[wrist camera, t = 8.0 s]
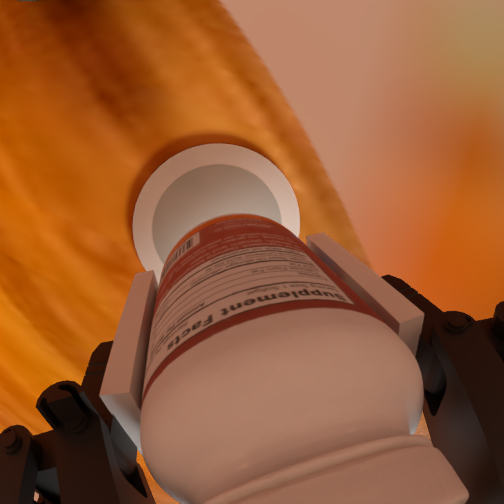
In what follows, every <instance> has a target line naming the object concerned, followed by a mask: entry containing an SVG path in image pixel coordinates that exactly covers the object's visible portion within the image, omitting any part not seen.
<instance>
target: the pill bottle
mask: <svg viewBox="0 0 504 504" xmlns="http://www.w3.org/2000/svg"><path fill="white" fill-rule="evenodd" d="M423 401H424V389H423V380H422V375H421V371H420V368H419V365H418V363H417V361H416V359H415V357H414V355H413V354H412V352H411V351H410V349H409V348H408V347H407V345H406V344H405V343H404V342H403V341H402V340H401V338H400V337H399V336H398V335H397V334H396V333H395V332H394V331H393V330H392V328H391V327H390V326H389V325H388V324H387V323H386V322H385V321H384V320H383V319H382V318H381V317H380V316H379V315H378V314H376V313H375V312H374V311H373V310H372V309H371V308H370V307H369V305H368V304H366V303H365V302H364V301H363V300H362V299H361V298H360V297H359V296H358V295H357V294H356V293H355V292H354V291H353V290H352V289H351V288H350V287H349V286H348V285H347V284H346V283H345V282H344V281H343V280H342V279H341V278H340V277H339V276H338V275H337V274H335V272H334V271H332V269H331V268H330V267H328V266H327V265H326V264H325V263H324V262H323V261H322V260H321V259H320V258H319V257H318V256H317V255H316V254H315V253H314V252H312V250H311V249H310V248H308V247H307V246H306V245H305V244H304V243H303V242H302V241H301V240H300V239H299V238H298V237H297V236H296V235H295V234H293V233H292V232H291V231H290V230H288V229H287V228H286V227H284V226H283V225H281V224H280V223H278V222H276V221H274V220H272V219H269V218H267V217H263V216H260V215H255V214H248V213H233V214H226V215H221V216H217V217H214V218H212V219H209V220H207V221H204V222H202V223H201V224H199V225H197V226H196V227H194V228H193V229H191V230H190V231H188V232H187V233H186V234H185V235H184V236H183V237H182V238H181V239H180V240H179V241H178V242H177V243H176V245H175V246H174V247H173V249H172V250H171V252H170V253H169V255H168V257H167V259H166V261H165V264H164V267H163V270H162V273H161V277H160V282H159V287H158V292H157V297H156V303H155V308H154V314H153V320H152V327H151V334H150V340H149V348H148V355H147V363H146V371H145V379H144V387H143V396H142V404H141V423H140V443H141V449H142V454H143V457H144V460H145V463H146V466H147V468H148V469H149V471H150V473H151V475H152V476H153V478H154V479H155V481H156V482H157V483H158V484H159V486H160V487H161V488H162V489H163V490H164V491H165V492H166V493H168V494H169V495H170V496H171V497H173V498H174V499H175V500H177V501H178V502H180V503H182V504H465V503H466V501H467V500H468V498H469V493H468V490H467V489H466V487H465V486H464V484H463V483H462V481H461V480H460V478H459V477H458V475H457V474H456V472H455V471H454V469H453V467H452V466H451V465H450V463H449V462H448V461H447V459H446V458H445V456H444V455H443V454H442V452H441V451H440V450H439V449H437V448H434V447H433V444H432V442H431V440H429V439H428V438H427V437H425V436H421V435H414V433H415V431H416V429H417V426H418V424H419V421H420V418H421V414H422V409H423Z"/></svg>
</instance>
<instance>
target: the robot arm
mask: <svg viewBox="0 0 504 504" xmlns="http://www.w3.org/2000/svg"><path fill="white" fill-rule="evenodd" d="M306 238H307V247H308V248H310V249H311V250H312V252H314V253H315V254H316V255H317V256H318V257H319V258H320V259H321V260H322V261H323V262H324V263H325V264H326V265H327V266H328V267H330V268H331V269H332V271H334V272H335V274H337V275H338V276H339V277H340V278H341V279H342V280H343V281H344V282H345V283H346V284H347V285H348V286H349V287H350V288H351V289H352V290H353V291H354V292H355V293H356V294H357V295H358V296H359V297H360V298H361V299H362V300H363V301H364V302H365V303H366V304H368V305H369V307H370V308H371V309H372V310H373V311H374V312H375V313H376V314H378V315H379V316H380V317H381V318H382V319H383V320H384V321H385V322H386V323H387V324H388V325H389V326H390V327H391V328H392V330H393V331H394V332H395V333H396V334H397V335H398V336H399V337H400V338H401V340H402V341H403V342H404V343H405V344H406V345H407V347H408V348H409V349H410V351H411V352H412V354H413V355H414V357H415V359H416V361H417V363H418V365H419V368H420V371H421V375H422V380H423V389H424V401H423V409H422V410H423V413H424V417H425V420H426V423H427V427H428V430H429V434H430V437H431V441H432V444H433V447H434V448H437V449H439V450H440V451H441V452H442V454H443V455H444V456H445V458H446V459H447V461H448V462H449V463H450V465H451V466H452V467H453V469H454V471H455V472H456V474H457V475H458V477H459V478H460V480H461V481H462V483H463V484H464V486H465V487H466V489H467V490H468V493H469V498H468V500H467V501H466V503H465V504H504V301H502V302H500V303H499V304H497V306H496V308H495V312H494V316H493V318H489V319H484V320H478V321H475V320H474V319H473V318H472V317H471V316H469V315H467V314H465V313H462V312H458V311H447V312H442V311H441V310H440V309H439V308H437V307H436V306H435V305H434V304H432V303H431V302H430V301H429V300H427V299H426V298H425V297H424V296H422V295H421V294H418V292H417V291H416V290H415V289H413V288H411V287H410V286H409V285H408V284H407V283H405V282H404V281H403V280H401V279H399V278H396V277H393V276H391V275H385V276H382V277H380V276H379V275H377V274H376V273H375V272H374V271H372V270H371V269H370V268H369V267H367V266H366V265H365V264H364V263H362V262H361V261H360V260H358V259H357V258H356V257H355V256H353V255H352V254H351V253H350V252H348V251H347V250H346V249H344V248H343V247H342V246H340V245H339V244H338V243H337V242H335V241H334V240H333V239H331V238H330V237H329V236H327V235H326V234H325V233H319V234H314V235H310V236H306ZM158 287H159V286H158V283H157V279H156V276H155V273H154V270H150V271H146V272H141V273H137V274H135V277H134V280H133V283H132V286H131V289H130V291H129V294H128V297H127V300H126V303H125V306H124V310H123V313H122V316H121V319H120V322H119V325H118V329H117V332H116V335H115V339H114V341H109V342H103V343H100V344H99V346H98V347H97V348H96V349H95V350H94V352H93V353H92V355H91V358H90V361H89V364H88V365H89V366H88V367H87V370H86V373H85V374H86V376H84V379H83V382H82V385H81V386H80V385H79V384H77V383H76V382H74V381H68V380H67V381H61V382H57V383H55V384H53V385H51V386H49V387H48V388H47V389H46V390H45V391H43V392H42V394H41V395H40V397H39V398H38V400H37V404H36V408H37V409H38V411H39V412H40V413H41V414H42V416H43V417H44V418H45V419H46V421H47V422H48V423H49V424H50V426H51V427H52V428H53V429H54V430H51V431H48V432H45V433H41V434H38V435H34V436H33V435H32V434H31V433H30V431H29V430H28V429H27V428H25V427H24V426H21V425H14V426H10V427H8V428H7V429H5V430H4V431H3V432H2V433H1V434H0V504H156V503H155V501H154V498H153V496H152V493H151V491H150V488H149V485H148V483H147V480H146V478H145V475H144V472H143V470H142V468H141V467H140V465H139V464H138V463H137V462H136V457H137V449H138V451H139V452H140V453H141V454H142V449H141V443H140V423H141V404H142V396H143V387H144V379H145V371H146V363H147V355H148V348H149V340H150V334H151V327H152V320H153V314H154V308H155V303H156V297H157V292H158ZM142 456H143V454H142ZM35 492H37V493H38V494H39V498H38V501H37V502H36V501H34V493H35Z"/></svg>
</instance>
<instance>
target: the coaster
mask: <svg viewBox="0 0 504 504" xmlns="http://www.w3.org/2000/svg"><path fill="white" fill-rule="evenodd" d="M233 213H248V214H255V215H260V216H263V217H267V218H269V219H272V220H274V221H276V222H278V223H280V224H281V225H283V226H284V227H286V228H287V229H288V230H290V231H291V232H292V233H293V234H295V235H296V236H297V237H299V229H300V214H299V208H298V203H297V200H296V197H295V194H294V191H293V189H292V187H291V185H290V183H289V182H288V180H287V179H286V177H285V176H284V174H283V173H282V172H281V171H280V170H279V169H278V168H277V167H276V166H275V165H274V164H273V163H272V162H270V161H269V160H268V159H267V158H265V157H263V156H262V155H260V154H259V153H257V152H254V151H252V150H250V149H248V148H244V147H241V146H237V145H231V144H220V143H212V144H204V145H199V146H195V147H192V148H189V149H186V150H184V151H182V152H179V153H178V154H176V155H174V156H173V157H171V158H169V159H168V160H167V161H165V162H164V163H163V164H162V165H161V166H159V167H158V168H157V169H156V171H155V172H154V173H153V174H152V175H151V176H150V177H149V179H148V180H147V182H146V183H145V185H144V186H143V188H142V190H141V192H140V194H139V197H138V199H137V202H136V205H135V210H134V215H133V227H132V228H133V239H134V244H135V248H136V251H137V254H138V257H139V259H140V261H141V263H142V265H143V267H144V268H145V270H146V271H150V270H154V273H155V276H156V279H157V283H158V285H159V282H160V277H161V273H162V270H163V267H164V264H165V261H166V259H167V257H168V255H169V253H170V252H171V250H172V249H173V247H174V246H175V245H176V243H177V242H178V241H179V240H180V239H181V238H182V237H183V236H184V235H185V234H186V233H187V232H188V231H190V230H191V229H193V228H194V227H196V226H197V225H199V224H201V223H202V222H204V221H207V220H209V219H212V218H214V217H217V216H221V215H226V214H233Z"/></svg>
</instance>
